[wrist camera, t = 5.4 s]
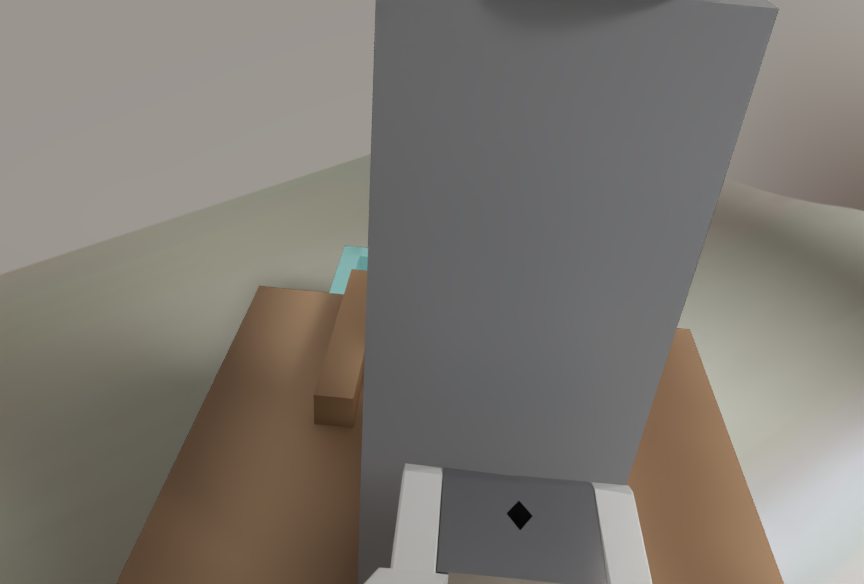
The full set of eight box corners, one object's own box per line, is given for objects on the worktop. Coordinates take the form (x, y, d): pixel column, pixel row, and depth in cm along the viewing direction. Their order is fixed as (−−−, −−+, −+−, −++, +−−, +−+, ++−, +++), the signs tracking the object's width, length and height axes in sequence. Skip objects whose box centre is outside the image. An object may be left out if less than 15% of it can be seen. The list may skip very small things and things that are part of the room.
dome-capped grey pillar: (554, 528, 17) (727, -151, 9) (567, 687, 14) (836, -128, 6) (377, 510, 17) (413, -180, 10) (352, 664, 14) (375, -170, 6)
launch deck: (622, 530, 30) (697, 303, 23) (706, 1006, 18) (899, 800, 12) (273, 494, 30) (257, 259, 24) (131, 940, 18) (30, 704, 12)
